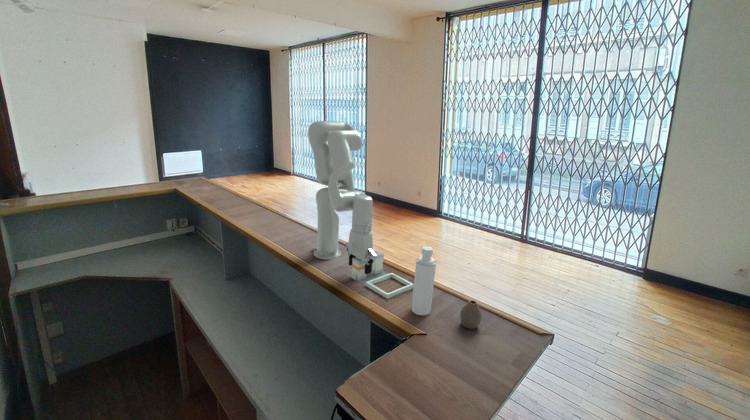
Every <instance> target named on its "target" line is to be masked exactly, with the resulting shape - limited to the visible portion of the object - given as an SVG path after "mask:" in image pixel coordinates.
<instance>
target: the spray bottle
mask: <svg viewBox="0 0 750 420" xmlns="http://www.w3.org/2000/svg"><path fill="white" fill-rule="evenodd" d="M433 252H434V249H433V247H431V246H428V245H427V246H422V248H421V256H419V257H417V258H416V259H415V260H416V261H415V270H414V271H415V272H414V279H413V284H414V288H412V290H413V291H412V301H411V312H413V313H414V314H415V315H419V316H427V315H430V314H431V310H432V301H433V294H434V284H435V278H436V276H435V275H436V268H437V260H435V259H434V258H433V257H432V256H433Z"/></svg>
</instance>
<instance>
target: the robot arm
mask: <svg viewBox="0 0 750 420" xmlns="http://www.w3.org/2000/svg"><path fill="white" fill-rule="evenodd" d="M307 135H308V142H309V144H310V145H309V146H310V148H311V150H312V153H313V159H314V160H313V161H314V168H315V174H316V175H315V176H316V179H317V182H318V184H321V185H327V186H326V187H322V188H320V189H319V190H317V192H316V194H315V202H316V210H317V211H316V212H317V232H316V233H317V234H316V235H317V237H316V239H317V241H316V242H314V243H313V244H314V246H316V249H315V250H313V256H314V257H315V258H317V259H320V260H323V261H324V260H325V261H326V260H327V261H328V260H329V261H330V260H334V259H339V258H340V257H341V256H342V251H341V250H340V249H339V237H340V236H339V234H340V230H339V228H340V218H339V215H338V213H337V212H339V213H341V212H349V211H352V216H351V229H350V230H349V237H348V242H346V243H345V245H346V251H347V253H348V254H347V255H348V266H350V267H352V262H353V261H352V259H353V258H354V257H358V258H360V259H364V260H365V262H366V264H365V274H368V273H371V272H372V263H373V262H374V261H375V259H376V257H377V255H376V254H375V253H374V252H375V251H374V250H373V247H374V243H373V242H374V241H373V232H372V229H373V228H372V225H373V224H372V223H373V206H374V205H373V203H374V202H373V201H374V200H373V198H372V196H369V195H366V193H364V192H363V191H361V190H355V187H354V186H355V185H354V180H353V179H354V178H353V172H352V170H353V169H354V168H355V161H354V157H353V154H352V153H353V151H354V152H355V151H359V150H360V149H361V148H362V144H363V139H362V136H361V134H360V132H359V131H358V130H357V129H356V128H355V127H354V126H351V124H349V123H348V122H346V121H336V120H333V121H332V120H318V121H313V122H312V123H310V125H309V127H308V130H307Z"/></svg>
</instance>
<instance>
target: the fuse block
mask: <svg viewBox="0 0 750 420" xmlns="http://www.w3.org/2000/svg"><path fill="white" fill-rule="evenodd" d="M373 270H374V269H372V272H371V273H368V274H366V278H363V279H361V280H357V279H356V275H355V274H354V273H352V271H351V272H348V273H345V276H347V277H349V278H350V279H352V280H353V281H355V282H358V283H359V284H360V285H362V284H364V283H365V284H366V282H367V281H370V280H373V279H376V278H378V277H381V276H384V275H387V274H389V273H388V272H386V271H384V270H383V272H381V273H378V274H374V273H373Z"/></svg>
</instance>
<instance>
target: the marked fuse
mask: <svg viewBox="0 0 750 420" xmlns="http://www.w3.org/2000/svg"><path fill="white" fill-rule="evenodd" d="M352 261H353V262H352V265H351V267H352V269H351V272H352V273H354V274H355V275H356V279H357V280H361V279H363V278H366V274H365V264H366V262H365V260H364V259H360V258H358V257H354V258H353V259H352Z"/></svg>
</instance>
